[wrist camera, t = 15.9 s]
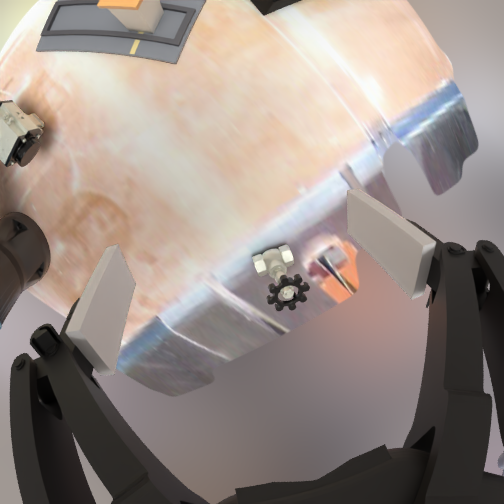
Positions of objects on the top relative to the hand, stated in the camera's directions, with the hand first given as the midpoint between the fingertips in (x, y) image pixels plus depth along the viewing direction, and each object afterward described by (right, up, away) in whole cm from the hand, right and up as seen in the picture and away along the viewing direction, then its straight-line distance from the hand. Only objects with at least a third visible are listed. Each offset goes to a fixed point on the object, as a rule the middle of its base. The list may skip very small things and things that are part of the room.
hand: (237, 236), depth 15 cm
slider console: (-20, +34, +10) cm, 41 cm away
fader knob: (-14, +32, +11) cm, 37 cm away
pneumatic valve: (-35, +20, +15) cm, 43 cm away
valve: (+4, -1, +35) cm, 36 cm away
